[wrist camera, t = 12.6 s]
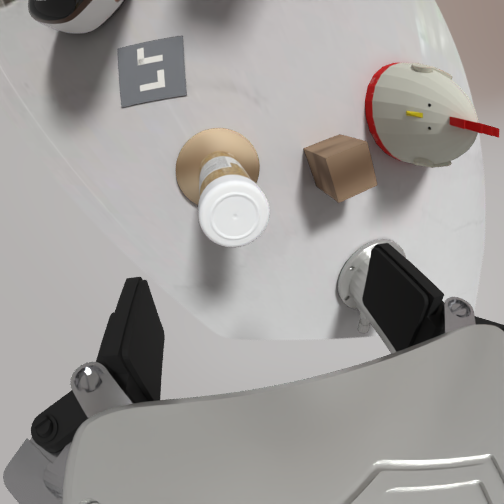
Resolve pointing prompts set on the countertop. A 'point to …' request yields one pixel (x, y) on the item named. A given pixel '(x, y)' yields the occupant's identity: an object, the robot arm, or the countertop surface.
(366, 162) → the walnut block
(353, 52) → the countertop surface
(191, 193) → the coaster
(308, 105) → the countertop surface
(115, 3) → the spread jar
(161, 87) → the card
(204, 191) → the sprinkles bottle
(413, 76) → the kitchen timer
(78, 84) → the countertop surface
